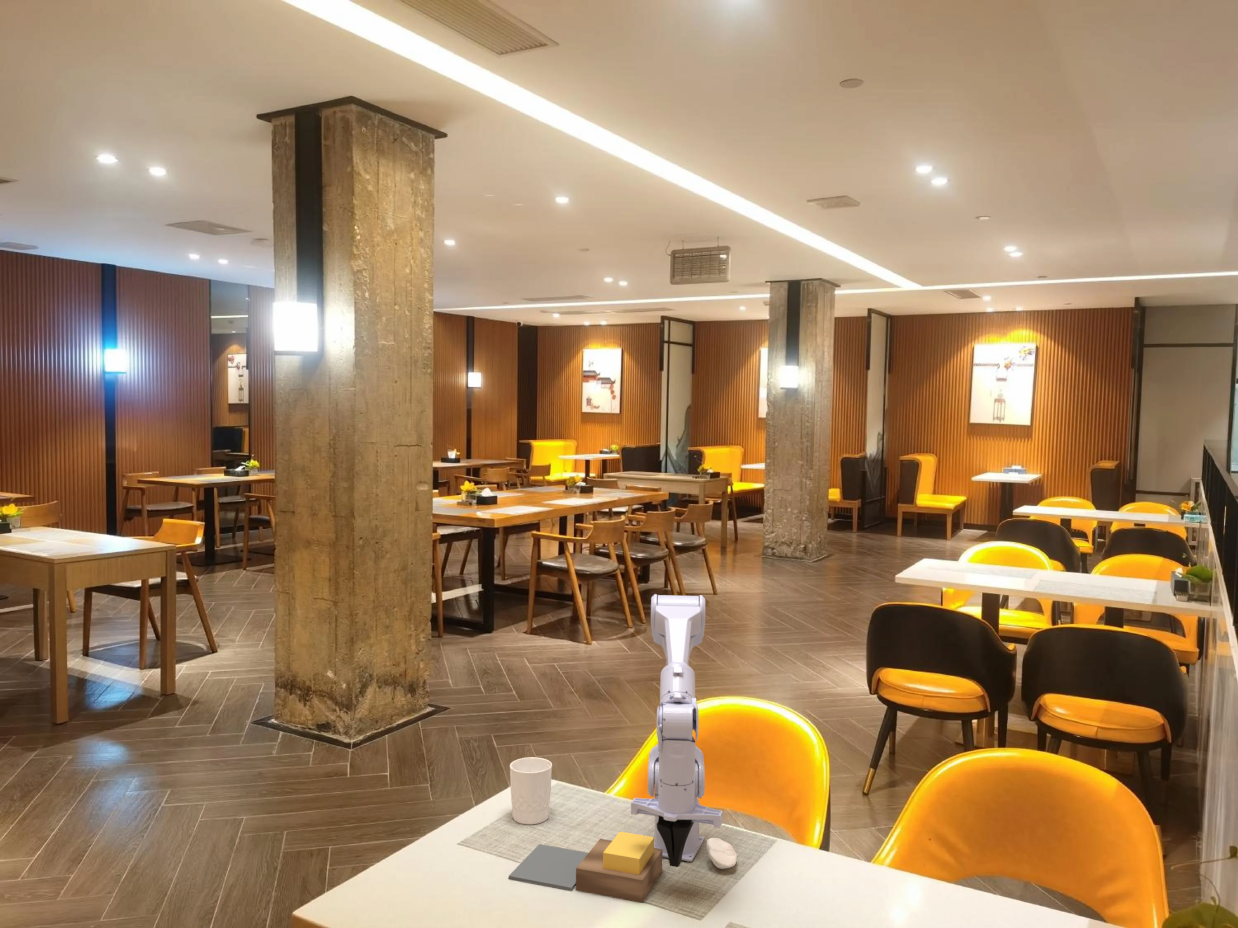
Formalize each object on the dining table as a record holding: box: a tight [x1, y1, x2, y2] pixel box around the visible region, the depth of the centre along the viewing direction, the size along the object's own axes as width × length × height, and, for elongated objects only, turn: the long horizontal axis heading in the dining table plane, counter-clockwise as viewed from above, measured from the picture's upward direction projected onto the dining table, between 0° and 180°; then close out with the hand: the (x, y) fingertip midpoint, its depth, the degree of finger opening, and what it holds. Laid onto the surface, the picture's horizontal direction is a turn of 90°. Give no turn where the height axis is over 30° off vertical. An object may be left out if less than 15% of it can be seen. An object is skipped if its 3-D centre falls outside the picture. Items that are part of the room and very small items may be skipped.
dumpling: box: [705, 837, 738, 870], centre depth 150 cm, size 7×5×4 cm
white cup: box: [509, 756, 553, 825], centre depth 168 cm, size 8×8×10 cm
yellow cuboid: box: [603, 831, 655, 875], centre depth 144 cm, size 8×6×2 cm
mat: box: [508, 843, 589, 892], centre depth 149 cm, size 12×11×1 cm
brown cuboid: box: [575, 838, 663, 903], centre depth 145 cm, size 11×11×4 cm
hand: (675, 863), depth 142 cm, fingers closed
